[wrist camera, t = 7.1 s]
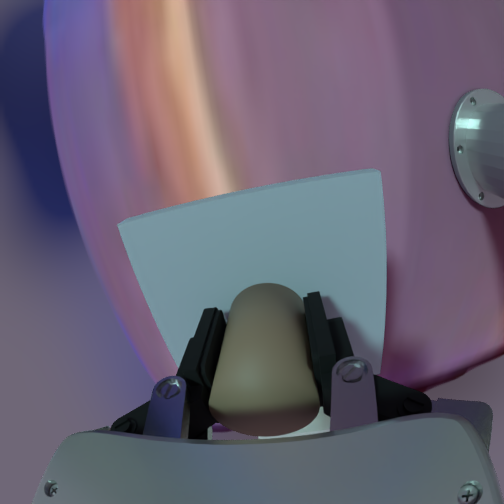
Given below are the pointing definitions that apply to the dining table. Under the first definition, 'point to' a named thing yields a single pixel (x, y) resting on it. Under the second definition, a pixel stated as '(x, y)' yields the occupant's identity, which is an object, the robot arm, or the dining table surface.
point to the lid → (267, 286)
